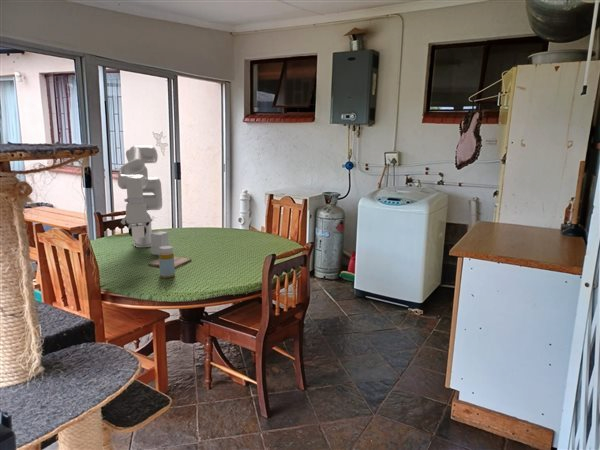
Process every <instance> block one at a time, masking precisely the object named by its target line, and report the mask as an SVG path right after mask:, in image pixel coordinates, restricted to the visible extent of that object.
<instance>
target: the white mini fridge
mask: <svg viewBox="0 0 600 450" xmlns="http://www.w3.org/2000/svg"><path fill="white" fill-rule="evenodd" d="M131 229H132V236H131V238H132V239H133V238H144V237H145V236H144V225H143V224H142V223H138V224H137V223H136V224H135V223H134V224H132V225H131Z"/></svg>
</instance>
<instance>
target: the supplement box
mask: <svg viewBox="0 0 600 450" xmlns="http://www.w3.org/2000/svg"><path fill="white" fill-rule="evenodd" d="M150 236H151V247H150V250H151V255H153V256H154V255H155V256H159V255H160V250H159V248H160V247H161V246H170V245H169V244H170V243H169V242H170V240H169V231H161V230H158V231H157V230H156V231H154V232H152V233H151V234H150Z"/></svg>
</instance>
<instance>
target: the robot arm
mask: <svg viewBox="0 0 600 450" xmlns="http://www.w3.org/2000/svg"><path fill="white" fill-rule="evenodd" d="M125 156H126V160H127V163H125V164H124V165H122V166H121V167H120V168H119V170H118V174H117V185H118V187H119V188H120V189H121V190H126V198H124V202H126V205H125V216H124V217H123V218H122V220H121V221H120V224H122V225H124V226H125V227H126V228H127V229H128V235H130V237H132V229H131V225H132V224H136V223H137V224H138V223H142V224H143V225H144V236H145V237H144V238H132V239H131V241H133V247H135V246H136V248H151V236H150V234H151V233H153V231H152V230H153V229H152V228H153V227H152V222H153V218H152V217H151V215H150V214H149V212H148V211H161V210H162V208H163V196H162V195H163V192H162V191H163V190H162V182H161V180H160V178H159V177H156V176H154V177H153V176H152V177H150V176H148V175H149V174H148V168H147V166H146V165H145V164H156V163H157V162H158V160H159V159H158V156H159V155H158V152H157V149H156V148H155V146H152V145H133V146H131V147H130V148H129V149H127V150H126V152H125ZM149 193H150V194H149ZM151 193H152V194H151Z"/></svg>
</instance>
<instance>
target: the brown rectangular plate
mask: <svg viewBox="0 0 600 450" xmlns="http://www.w3.org/2000/svg"><path fill="white" fill-rule="evenodd" d="M173 255H174V267H175V269H177V268H180V267H181V266H184V265H187V264H188V263H190V262H192V258H188V257H180V256H179V257H178V256H175V254H174V252H173ZM148 266H150V267H157V268H160V267H159V258H158V259H156V260H154V261H151V262H148Z"/></svg>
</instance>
